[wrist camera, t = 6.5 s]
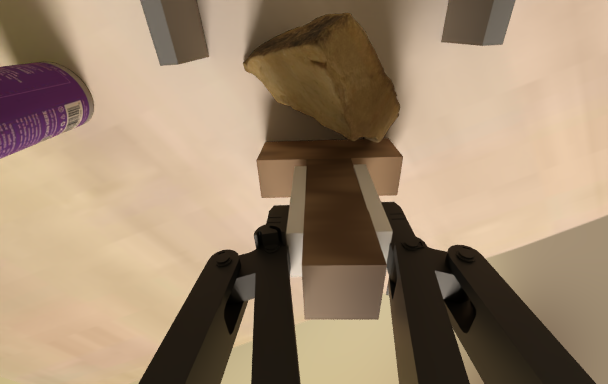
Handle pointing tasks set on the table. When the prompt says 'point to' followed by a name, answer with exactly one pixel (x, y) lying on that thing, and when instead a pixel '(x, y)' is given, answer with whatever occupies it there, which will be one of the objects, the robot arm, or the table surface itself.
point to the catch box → (191, 46)
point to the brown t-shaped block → (335, 220)
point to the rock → (329, 76)
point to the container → (39, 104)
